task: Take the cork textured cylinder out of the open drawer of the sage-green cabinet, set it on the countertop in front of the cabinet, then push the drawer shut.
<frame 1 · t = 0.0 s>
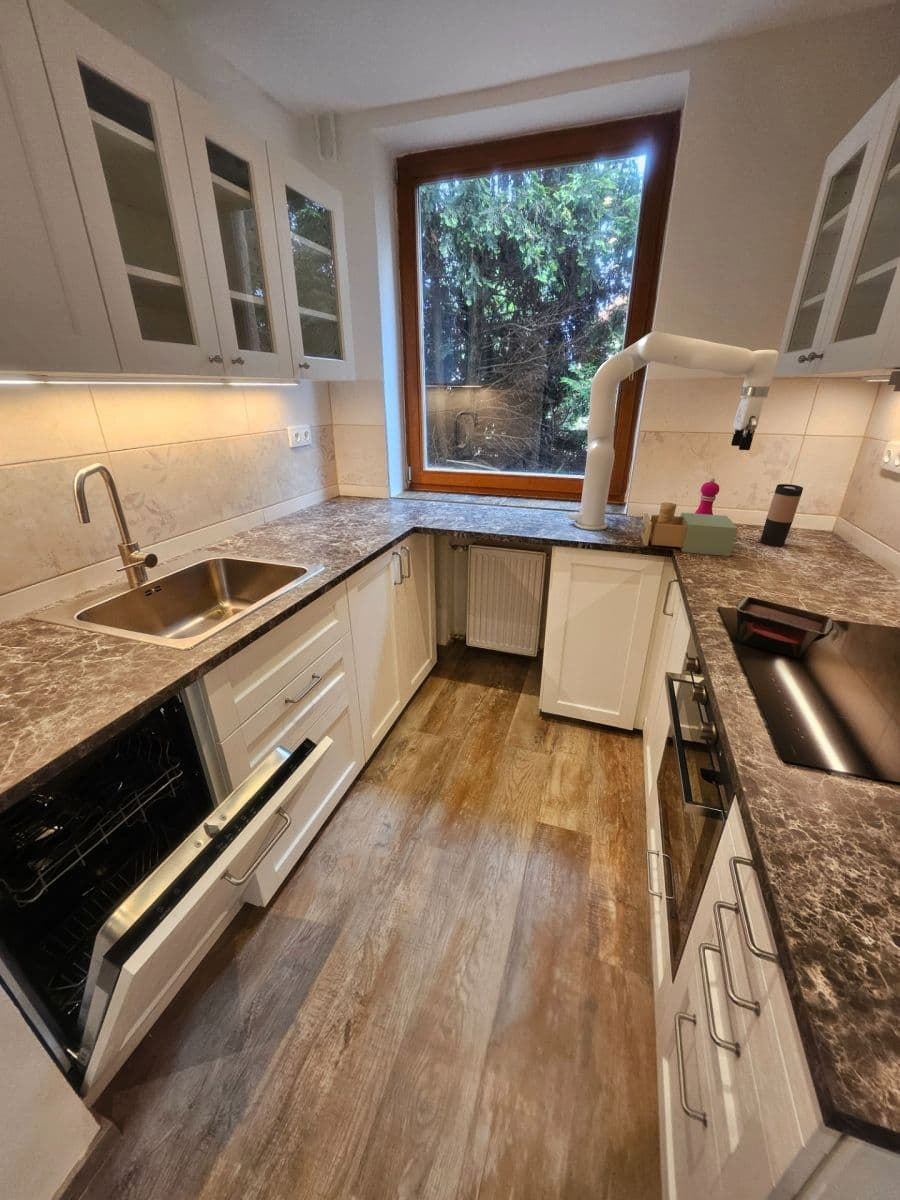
hand: (739, 447, 160), 31 cm above the countertop, tool pointing down, fingers open, 9 cm apart
cork textured cylinder: (661, 538, 165), point 2 cm above the countertop, touching drawer
pepper mill: (699, 531, 178), on the countertop
drawer: (658, 530, 164), point 5 cm above the countertop, slide at 11.0 cm, touching cork textured cylinder
travel mug: (771, 543, 166), on the countertop
baking dish: (773, 641, 107), on the countertop
cabinet: (701, 546, 163), on the countertop
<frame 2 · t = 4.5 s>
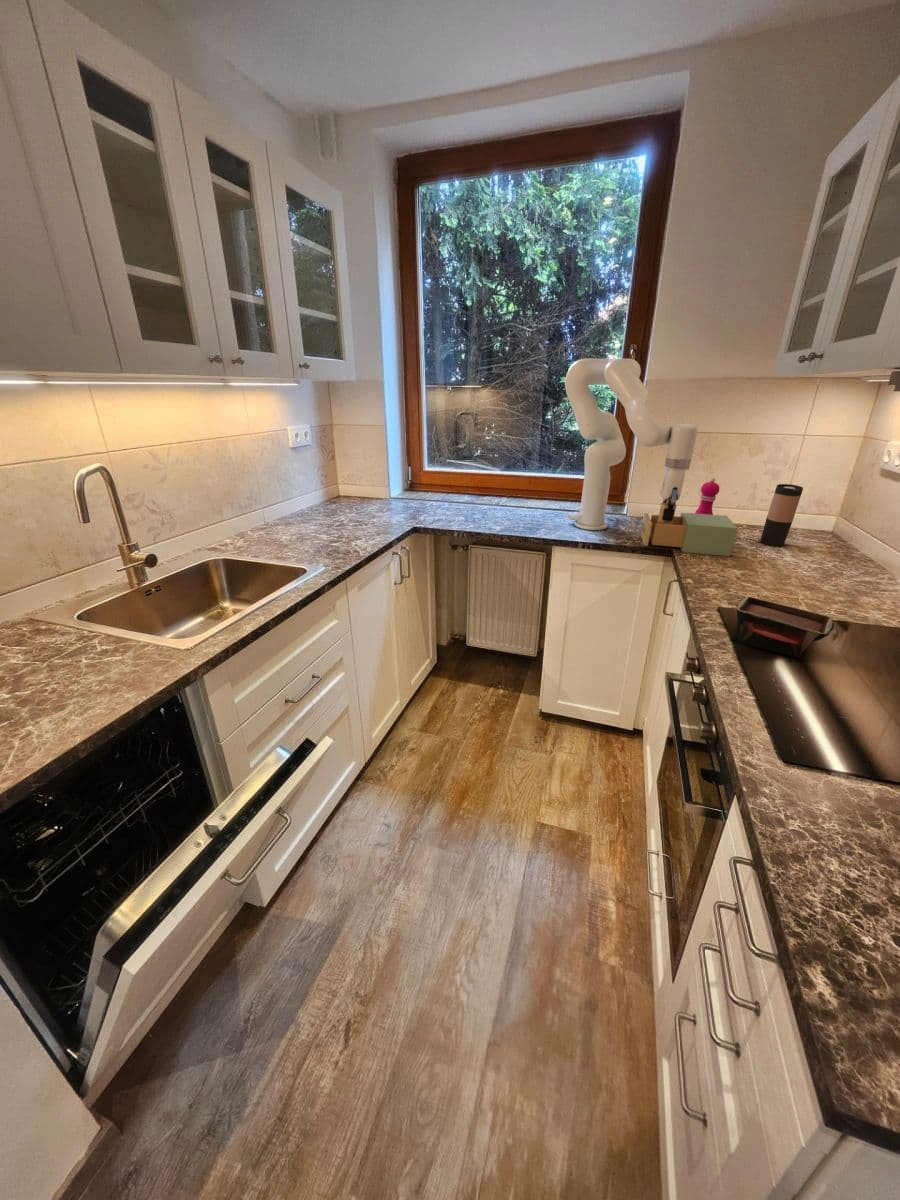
hand: (666, 517, 161), 9 cm above the countertop, tool pointing down, fingers closed on cork textured cylinder, 4 cm apart
cork textured cylinder: (661, 538, 165), point 2 cm above the countertop, touching drawer, gripper
everything else where it was.
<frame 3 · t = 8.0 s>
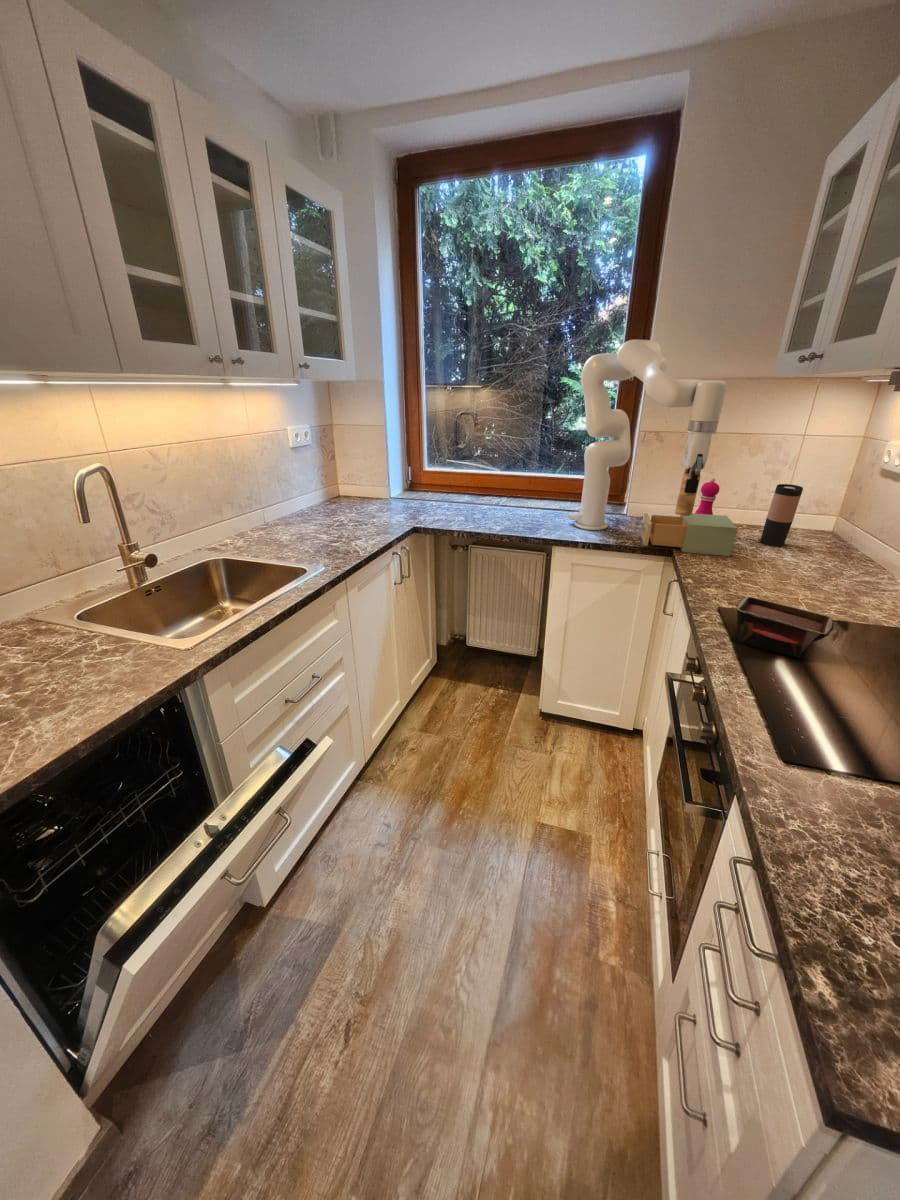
hand: (688, 490, 143), 22 cm above the countertop, tool pointing down, fingers closed on cork textured cylinder, 4 cm apart
cork textured cylinder: (683, 513, 147), point 15 cm above the countertop, touching gripper
drawer: (658, 530, 164), point 5 cm above the countertop, slide at 11.0 cm
everything else where it was.
when the fingers open (7 cm above the countertop, at t = 11.7 s): cork textured cylinder stays where it is, on the countertop.
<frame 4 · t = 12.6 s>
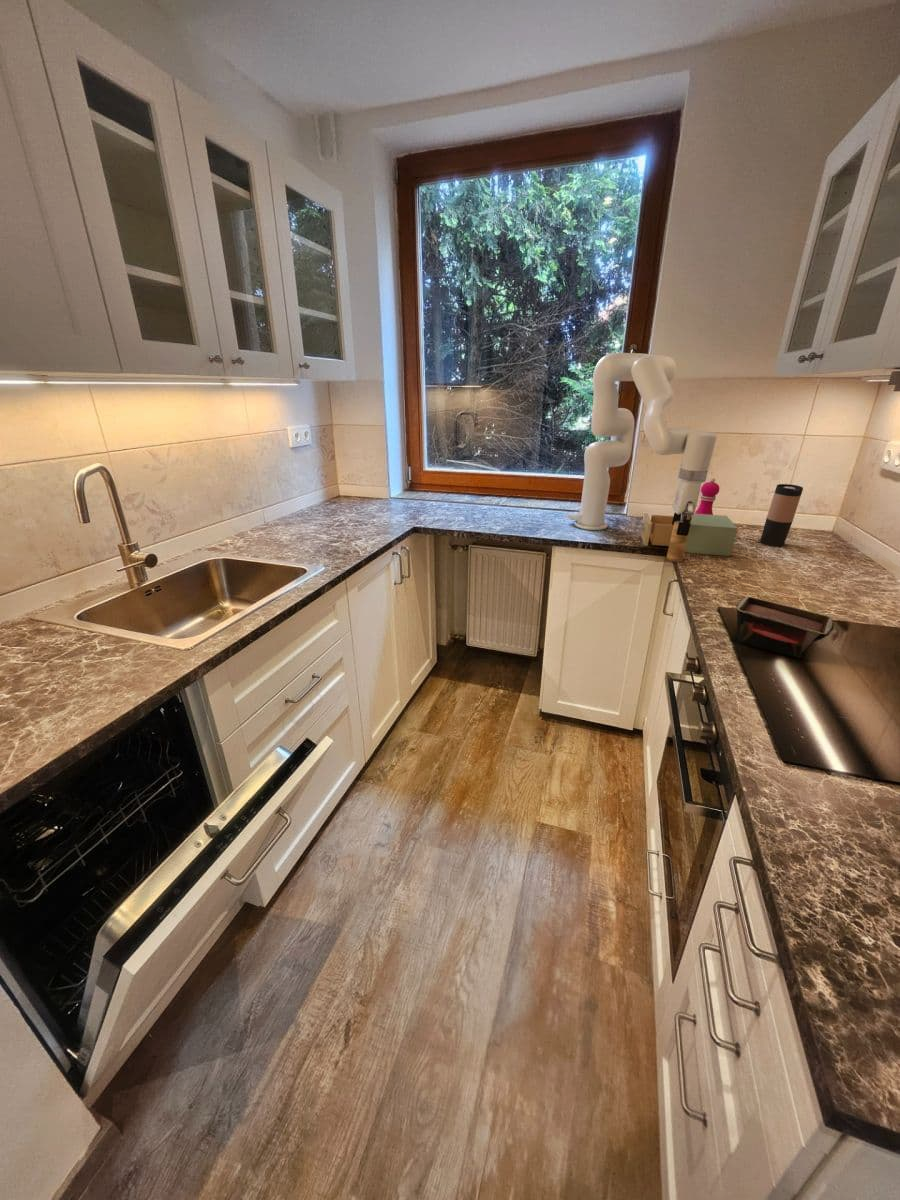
hand: (679, 530, 148), 10 cm above the countertop, tool pointing down, fingers open, 9 cm apart
cork textured cylinder: (674, 559, 152), on the countertop
everything else where it was.
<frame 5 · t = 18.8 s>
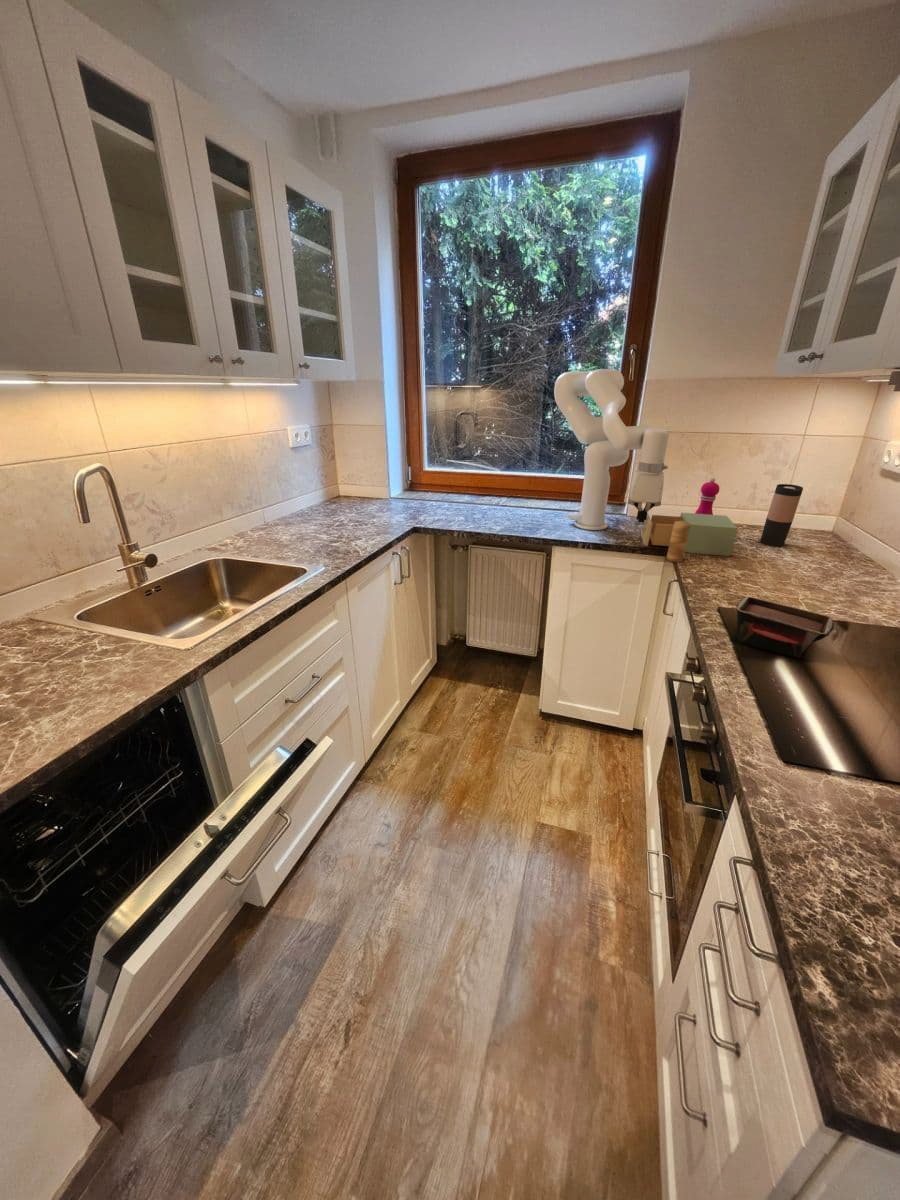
hand: (640, 521, 164), 7 cm above the countertop, tool pointing down, fingers closed
drawer: (658, 530, 164), point 5 cm above the countertop, slide at 10.9 cm, touching gripper
everything else where it was.
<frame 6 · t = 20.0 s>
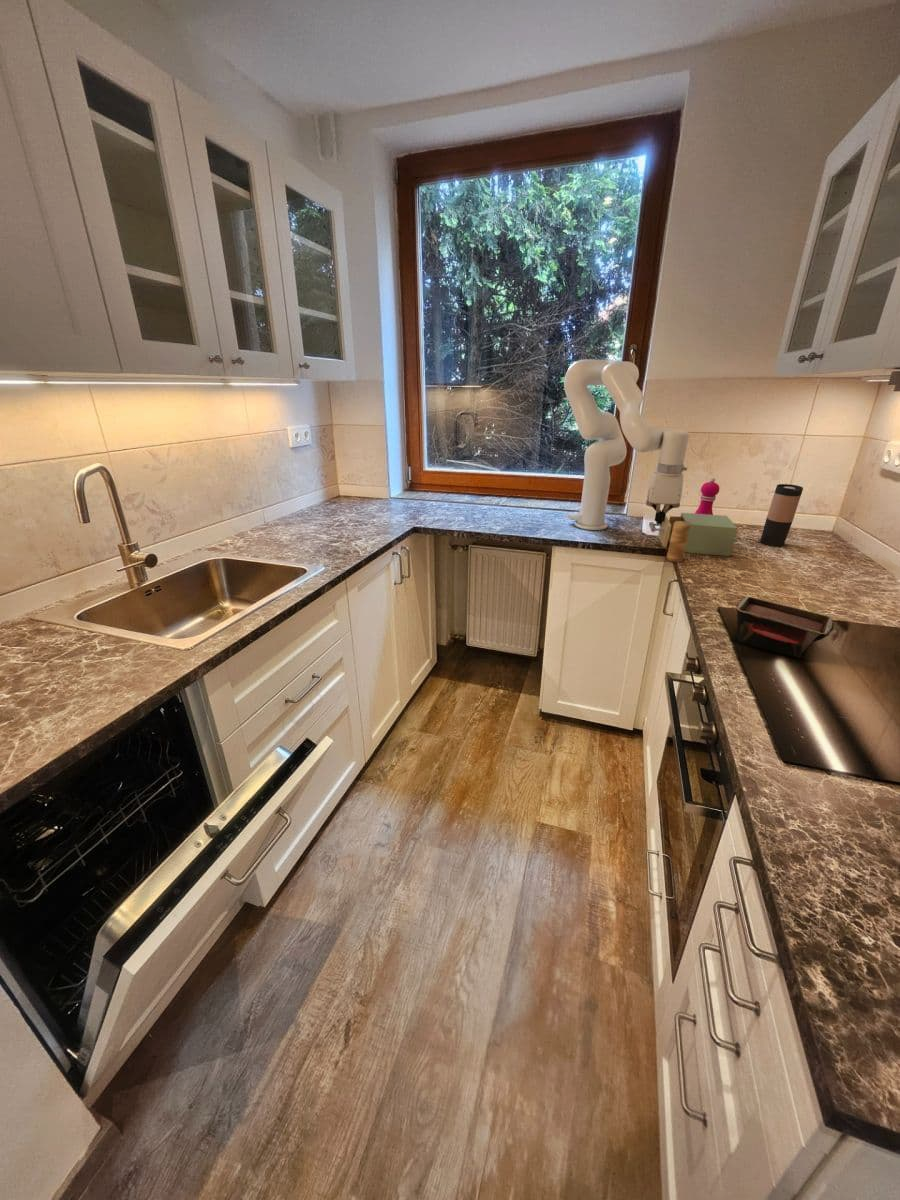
hand: (658, 523, 163), 7 cm above the countertop, tool pointing down, fingers closed
drawer: (676, 531, 163), point 5 cm above the countertop, slide at 4.9 cm, touching gripper
everything else where it was.
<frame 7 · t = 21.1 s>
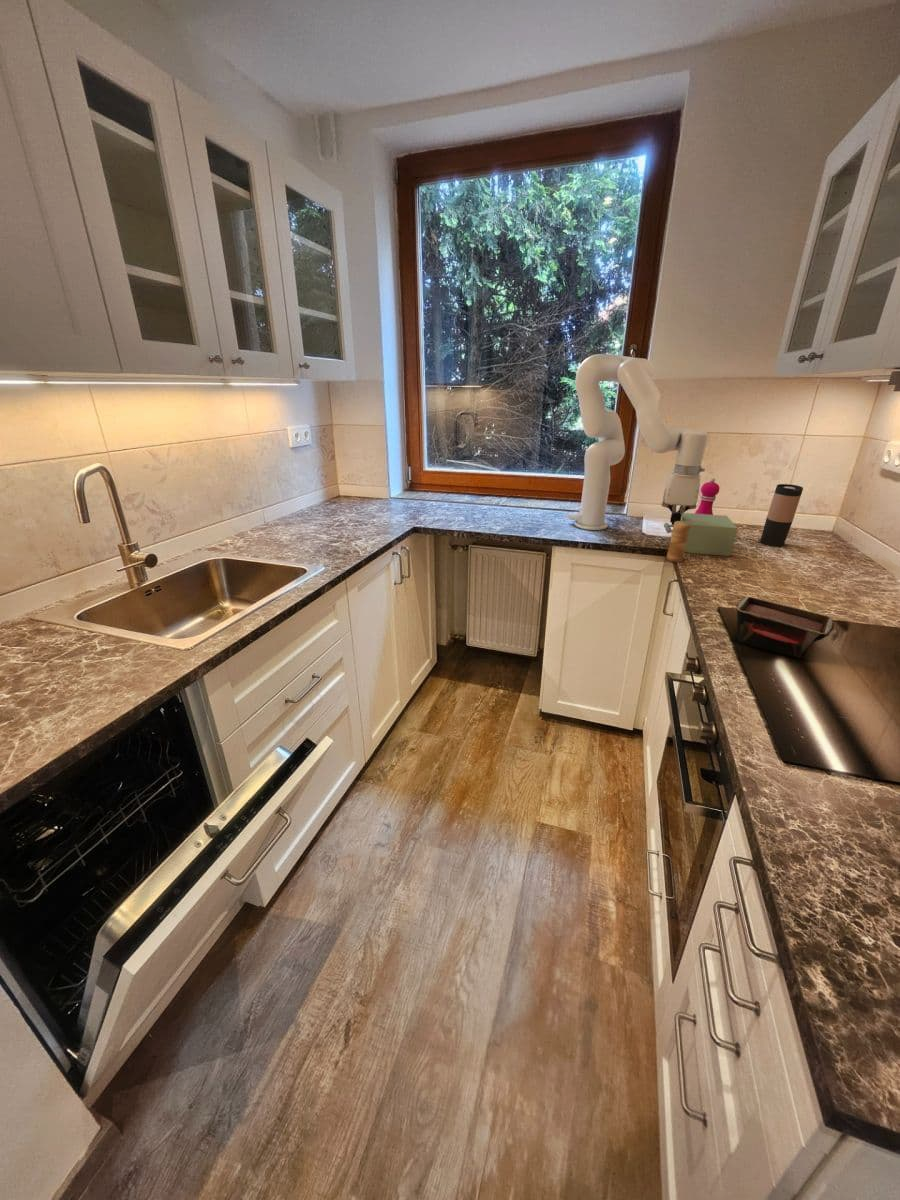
hand: (674, 524, 162), 7 cm above the countertop, tool pointing down, fingers closed
drawer: (692, 532, 161), point 5 cm above the countertop, slide at 0.0 cm, touching cabinet, gripper
everything else where it was.
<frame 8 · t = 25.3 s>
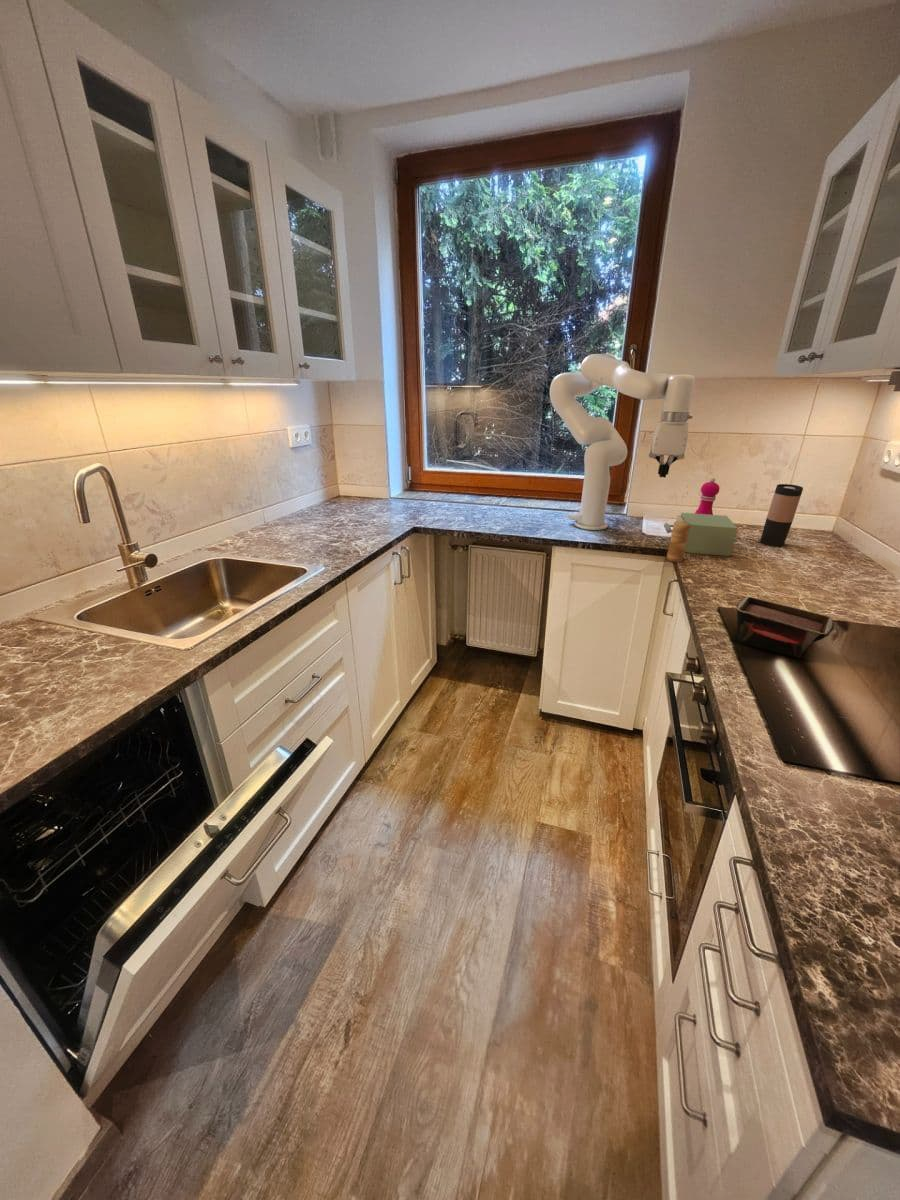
hand: (662, 476, 156), 23 cm above the countertop, tool pointing down, fingers closed
drawer: (692, 532, 161), point 5 cm above the countertop, slide at 0.0 cm
everything else where it was.
at the end: cork textured cylinder inside the target area (0.4 cm from its centre), on the countertop; cork textured cylinder tilted 0°; drawer slide at 0.0 cm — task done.
